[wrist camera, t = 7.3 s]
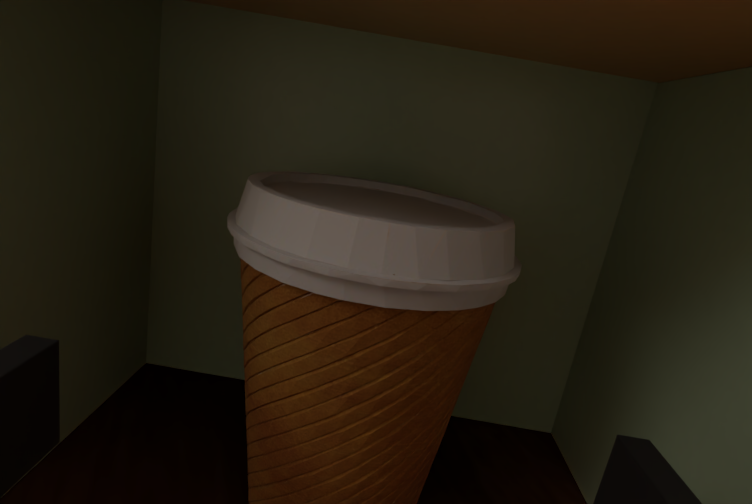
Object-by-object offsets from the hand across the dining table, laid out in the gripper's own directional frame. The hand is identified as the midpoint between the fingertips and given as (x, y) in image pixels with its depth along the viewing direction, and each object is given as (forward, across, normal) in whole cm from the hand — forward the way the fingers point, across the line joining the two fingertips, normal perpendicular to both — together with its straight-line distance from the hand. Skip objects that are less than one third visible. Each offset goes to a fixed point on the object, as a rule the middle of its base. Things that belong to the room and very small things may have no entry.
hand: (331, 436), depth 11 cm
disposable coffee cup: (+6, 0, -7) cm, 9 cm away
